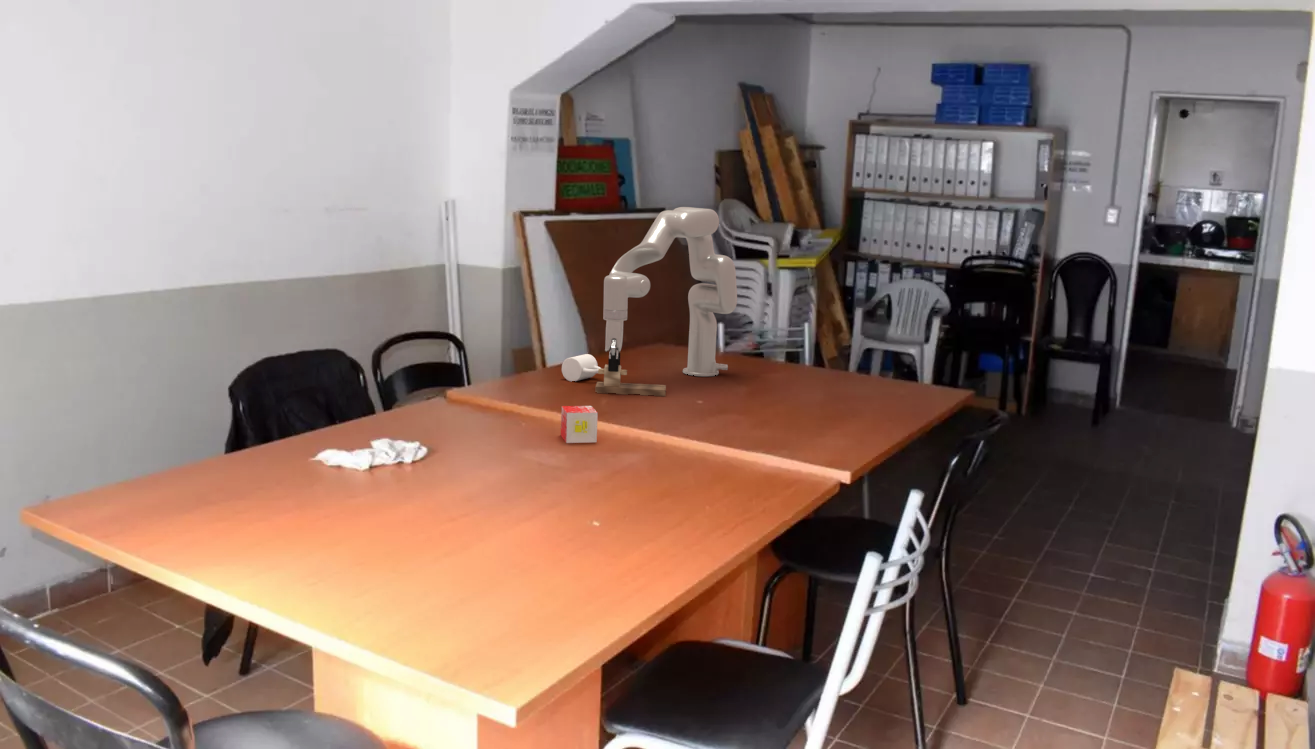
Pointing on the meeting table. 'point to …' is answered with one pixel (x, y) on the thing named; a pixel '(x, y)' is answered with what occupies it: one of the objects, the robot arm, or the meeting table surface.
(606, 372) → the beige block with peg
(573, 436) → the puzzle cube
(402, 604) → the meeting table surface
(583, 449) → the meeting table surface
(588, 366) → the mug
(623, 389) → the board
